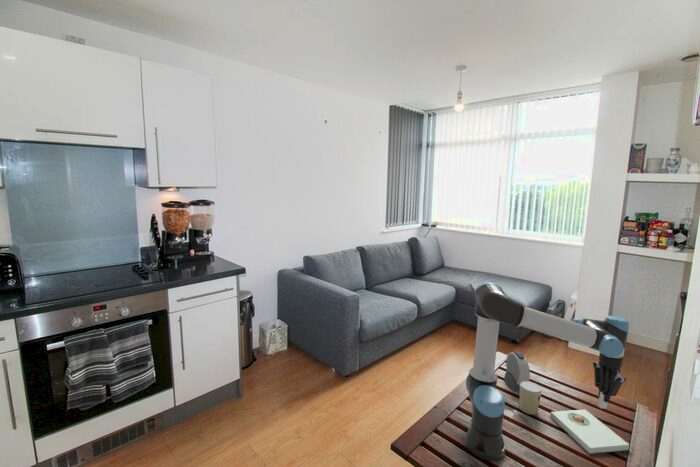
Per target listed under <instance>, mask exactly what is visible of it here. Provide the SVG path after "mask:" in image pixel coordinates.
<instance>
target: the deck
mask: <svg viewBox="0 0 700 467" xmlns="http://www.w3.org/2000/svg"><path fill="white" fill-rule="evenodd" d="M574 416H579V417H581V419H582V423H580V422H577V421H575V420H574V419H573V418H574ZM550 418H551V419H552V420H553V421H554V422H555V423H556V424H557V425H558V426H560V427H561V428H562V429H563V430H564V431H565V432H566V433H567V434H568V435H570V437H571V438H572V439H573V440H574V441H576V442H577V443H578V444H579V445H580V446H581V447H582V449H584V450H585V451H586V452H587V453H588V454H596V453H610V452H620V451H621V452H622V451H629V449H630V443H628V442H627V441H625V440H624V439H623V438H622V437H620V436H619V435H618V434H616V433H615V431H613V430H612V429H611V428H609V427H608V426H607V425H606V424H604V423H603V422H602V421H601V420H599V419H598V418H597V417H595V415H594V414H592V413H590V412H589V411H588V410H587V409H575V410H574V409H572V410H558V411H557V410H556V411H550Z"/></svg>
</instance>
